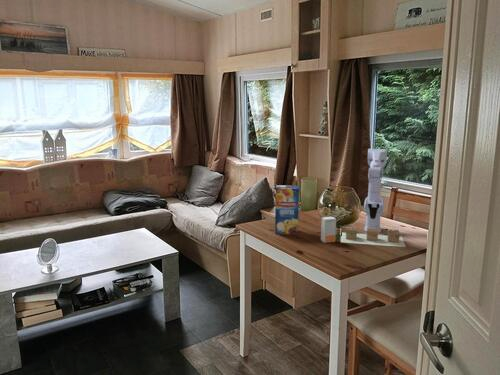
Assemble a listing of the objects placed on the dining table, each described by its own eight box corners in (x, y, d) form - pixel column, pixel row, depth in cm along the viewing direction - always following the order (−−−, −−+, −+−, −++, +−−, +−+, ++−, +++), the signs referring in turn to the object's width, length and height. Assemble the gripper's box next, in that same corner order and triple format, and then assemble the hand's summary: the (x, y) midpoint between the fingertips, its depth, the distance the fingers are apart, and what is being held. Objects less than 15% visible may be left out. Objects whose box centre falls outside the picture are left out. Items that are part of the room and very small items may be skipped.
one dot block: (387, 238, 215) (388, 228, 214) (397, 239, 214) (398, 229, 213) (388, 242, 210) (388, 231, 209) (399, 242, 209) (399, 232, 208)
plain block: (366, 237, 217) (367, 227, 216) (376, 238, 216) (377, 228, 215) (366, 240, 213) (367, 230, 212) (377, 241, 211) (378, 231, 210)
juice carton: (298, 229, 231) (299, 185, 226) (298, 234, 224) (299, 188, 219) (275, 229, 232) (276, 185, 227) (274, 233, 225) (275, 188, 220)
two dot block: (346, 236, 220) (346, 226, 219) (356, 236, 218) (356, 226, 217) (345, 239, 215) (346, 229, 214) (356, 239, 214) (356, 229, 212)
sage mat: (341, 233, 225) (341, 232, 225) (402, 237, 219) (402, 236, 219) (340, 243, 210) (340, 242, 210) (405, 247, 204) (405, 246, 203)
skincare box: (324, 243, 210) (324, 219, 207) (320, 240, 214) (321, 217, 211) (335, 242, 211) (336, 218, 209) (331, 239, 215) (332, 216, 213)
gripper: (365, 188, 220) (364, 214, 223) (366, 193, 206) (364, 221, 209) (379, 189, 219) (378, 215, 221) (381, 194, 205) (380, 222, 207)
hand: (372, 218), depth 215 cm, fingers closed
